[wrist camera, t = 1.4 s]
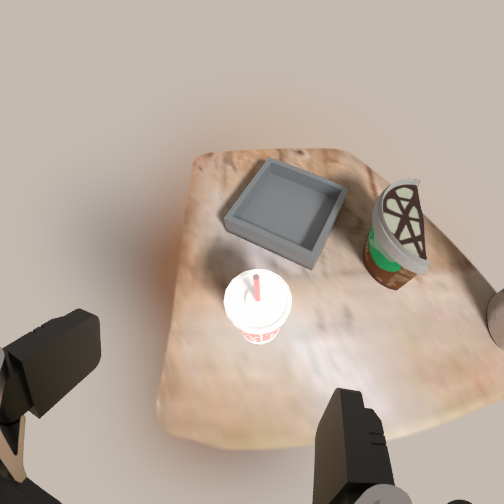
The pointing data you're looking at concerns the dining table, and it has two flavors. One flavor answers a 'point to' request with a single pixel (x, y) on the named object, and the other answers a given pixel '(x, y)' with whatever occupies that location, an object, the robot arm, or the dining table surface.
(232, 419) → the dining table surface
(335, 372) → the dining table surface
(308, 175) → the tray
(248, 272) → the beverage cup
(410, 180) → the food container
